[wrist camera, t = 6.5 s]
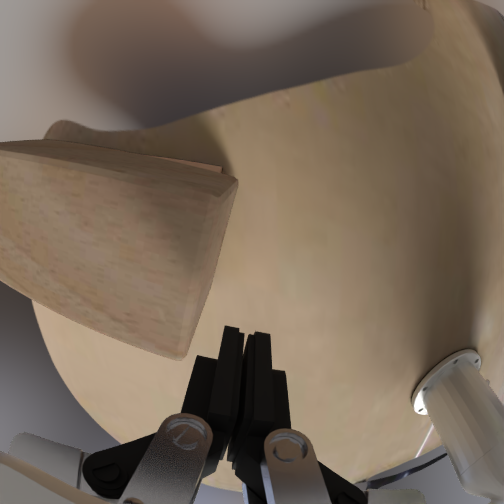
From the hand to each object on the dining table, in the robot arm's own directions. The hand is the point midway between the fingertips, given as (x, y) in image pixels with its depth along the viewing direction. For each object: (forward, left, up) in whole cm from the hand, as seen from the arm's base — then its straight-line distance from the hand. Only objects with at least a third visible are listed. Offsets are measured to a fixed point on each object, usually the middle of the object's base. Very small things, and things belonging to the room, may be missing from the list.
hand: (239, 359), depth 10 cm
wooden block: (+2, 0, -9) cm, 9 cm away
